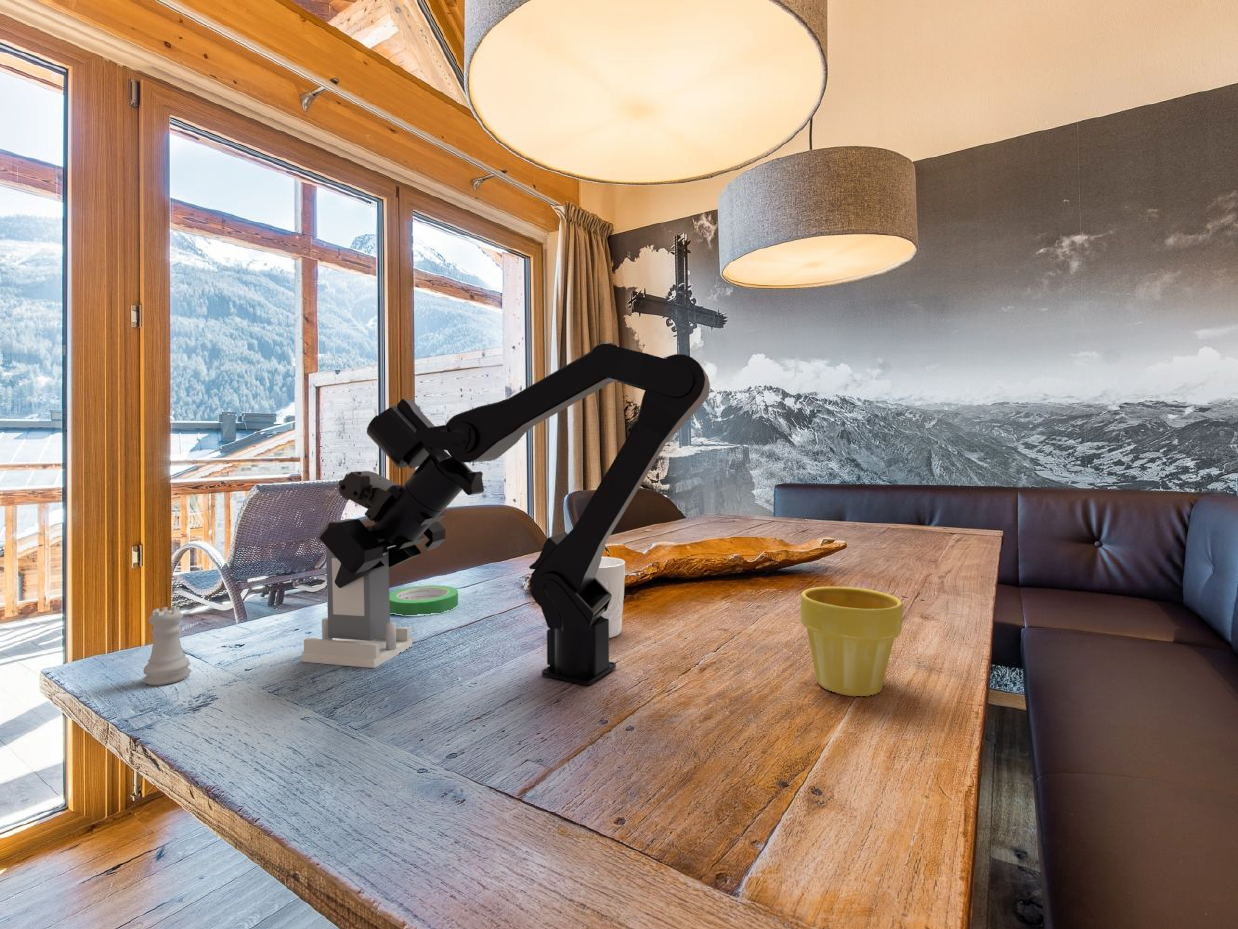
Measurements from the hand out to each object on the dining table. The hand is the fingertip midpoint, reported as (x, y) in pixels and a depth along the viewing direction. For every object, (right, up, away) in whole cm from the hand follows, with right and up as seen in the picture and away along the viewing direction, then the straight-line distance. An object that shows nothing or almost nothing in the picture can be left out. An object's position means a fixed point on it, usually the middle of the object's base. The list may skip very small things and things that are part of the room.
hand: (349, 581), depth 77 cm
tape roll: (+2, -9, +22) cm, 24 cm away
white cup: (+31, -9, +9) cm, 34 cm away
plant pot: (+59, -9, -11) cm, 61 cm away
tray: (+1, -9, 0) cm, 9 cm away
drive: (+1, -7, 0) cm, 7 cm away
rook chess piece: (-17, -10, -8) cm, 21 cm away
